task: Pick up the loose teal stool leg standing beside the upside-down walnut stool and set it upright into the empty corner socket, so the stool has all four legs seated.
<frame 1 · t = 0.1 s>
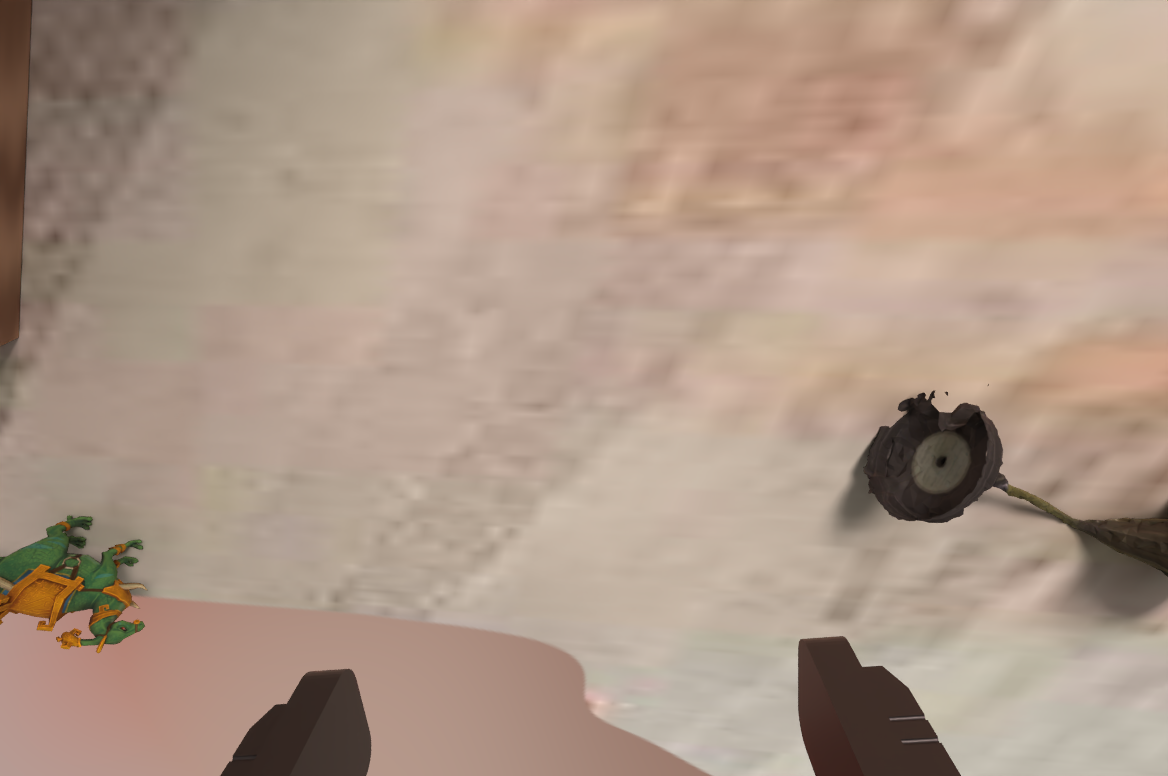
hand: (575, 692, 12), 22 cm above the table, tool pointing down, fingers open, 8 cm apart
figurine: (87, 528, 39), on the table
artificial flower: (1062, 475, 37), on the table
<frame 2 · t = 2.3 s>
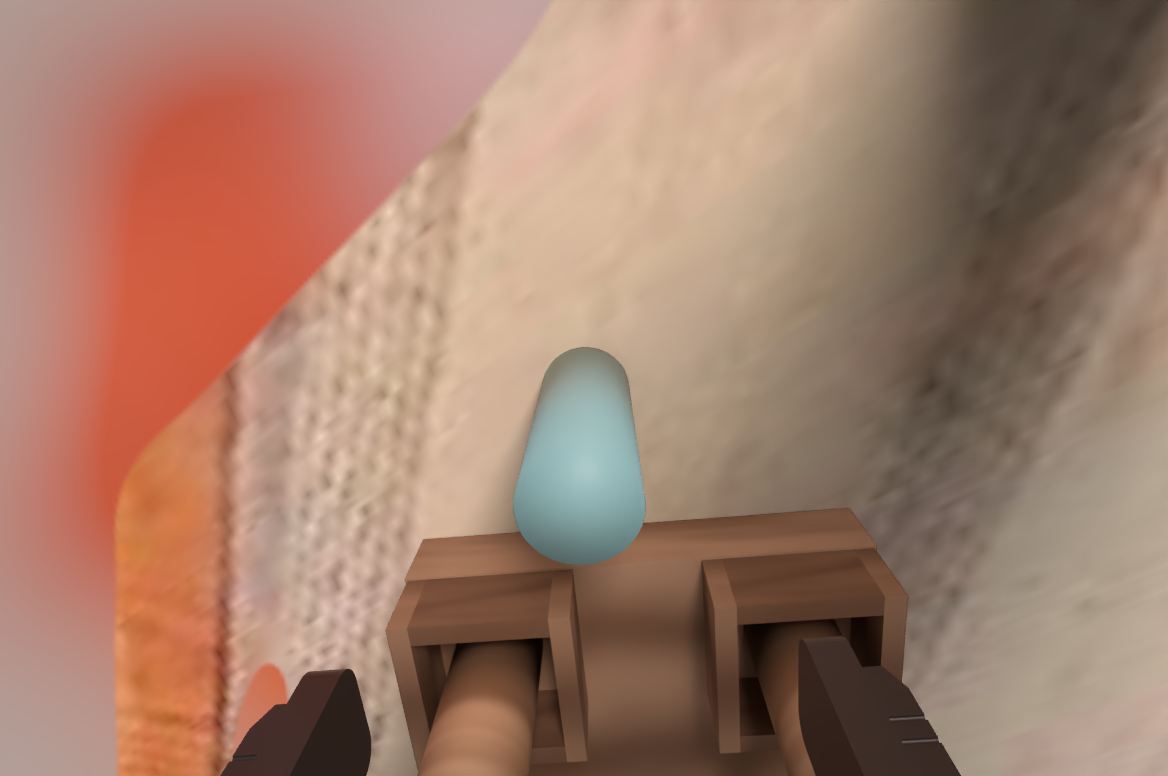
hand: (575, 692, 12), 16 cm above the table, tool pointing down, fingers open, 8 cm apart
loose leg: (585, 389, 27), on the table
stool seat: (646, 693, 32), on the table
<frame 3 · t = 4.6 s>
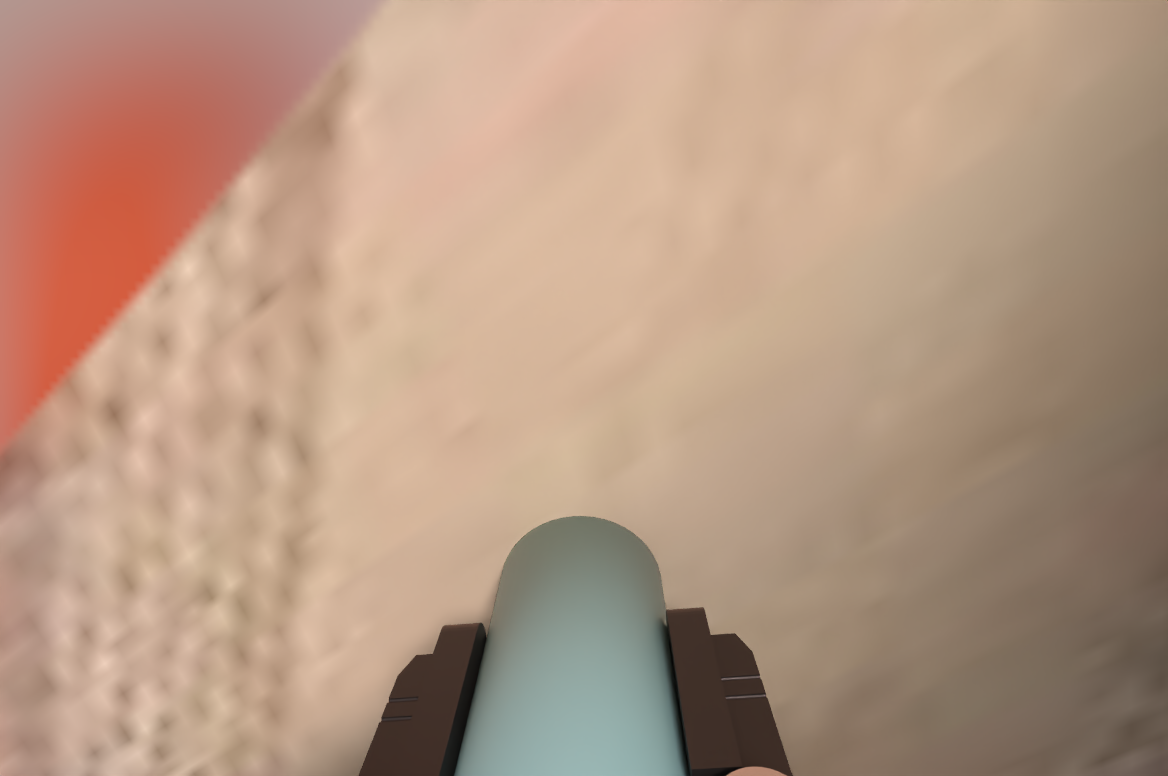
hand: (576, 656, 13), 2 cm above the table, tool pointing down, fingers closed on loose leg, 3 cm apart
loose leg: (581, 587, 15), on the table, touching gripper
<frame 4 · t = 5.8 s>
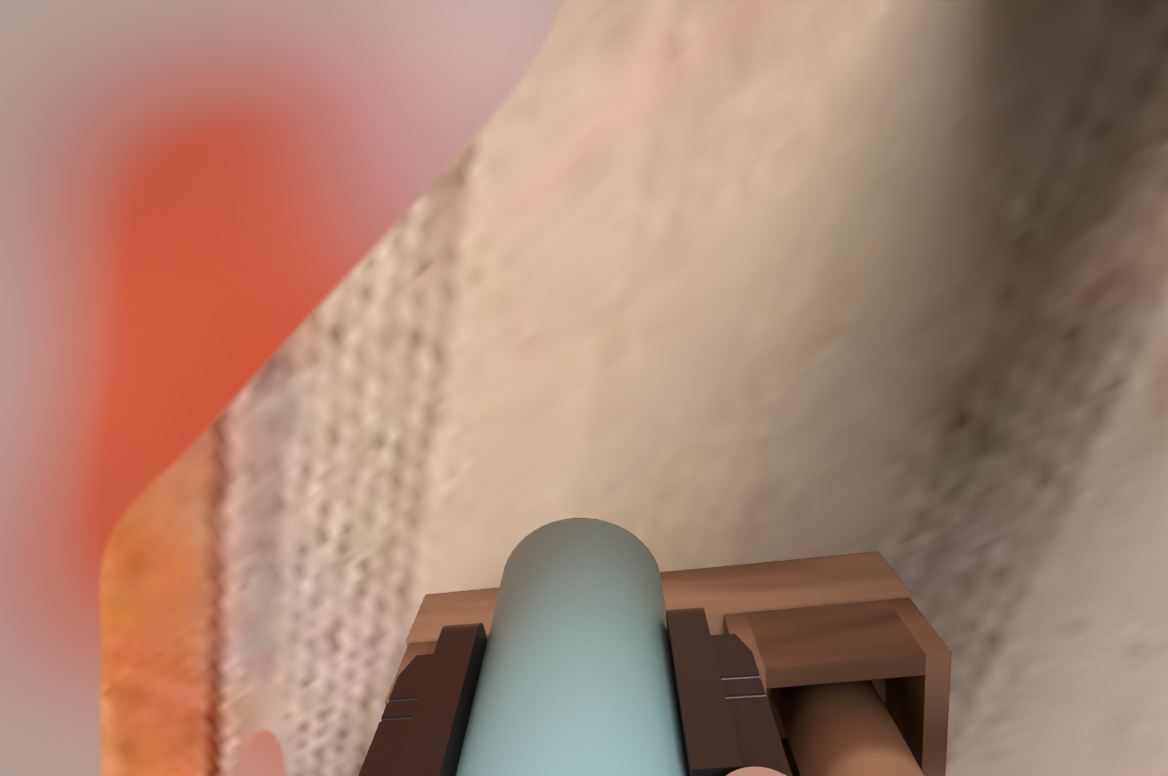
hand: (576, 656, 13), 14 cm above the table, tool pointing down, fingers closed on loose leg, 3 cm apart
loose leg: (581, 588, 15), point 11 cm above the table, touching gripper
stool seat: (666, 753, 30), on the table
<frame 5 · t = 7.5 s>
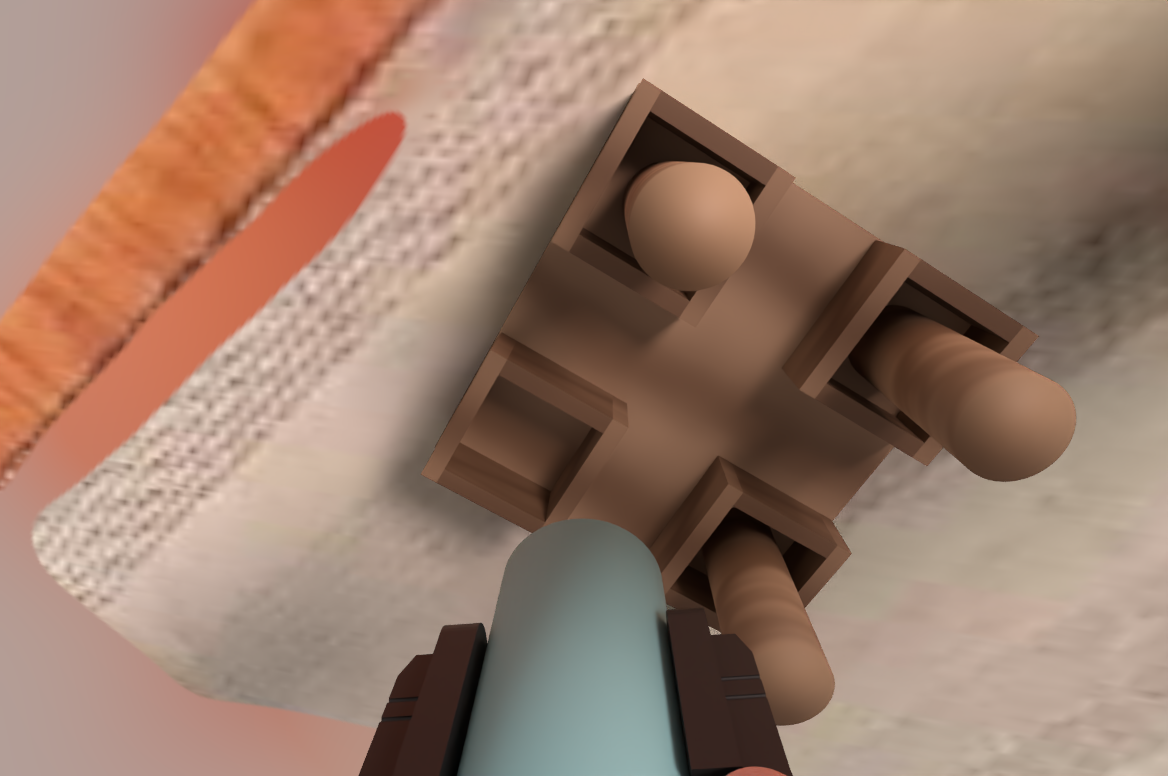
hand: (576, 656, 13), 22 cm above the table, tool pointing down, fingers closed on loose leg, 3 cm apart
loose leg: (582, 589, 15), point 20 cm above the table, touching gripper
stool seat: (695, 366, 34), on the table
when the fingers open (7 cm above the table, at t = 10.5 s): loose leg drops 1 cm, resting on stool seat.
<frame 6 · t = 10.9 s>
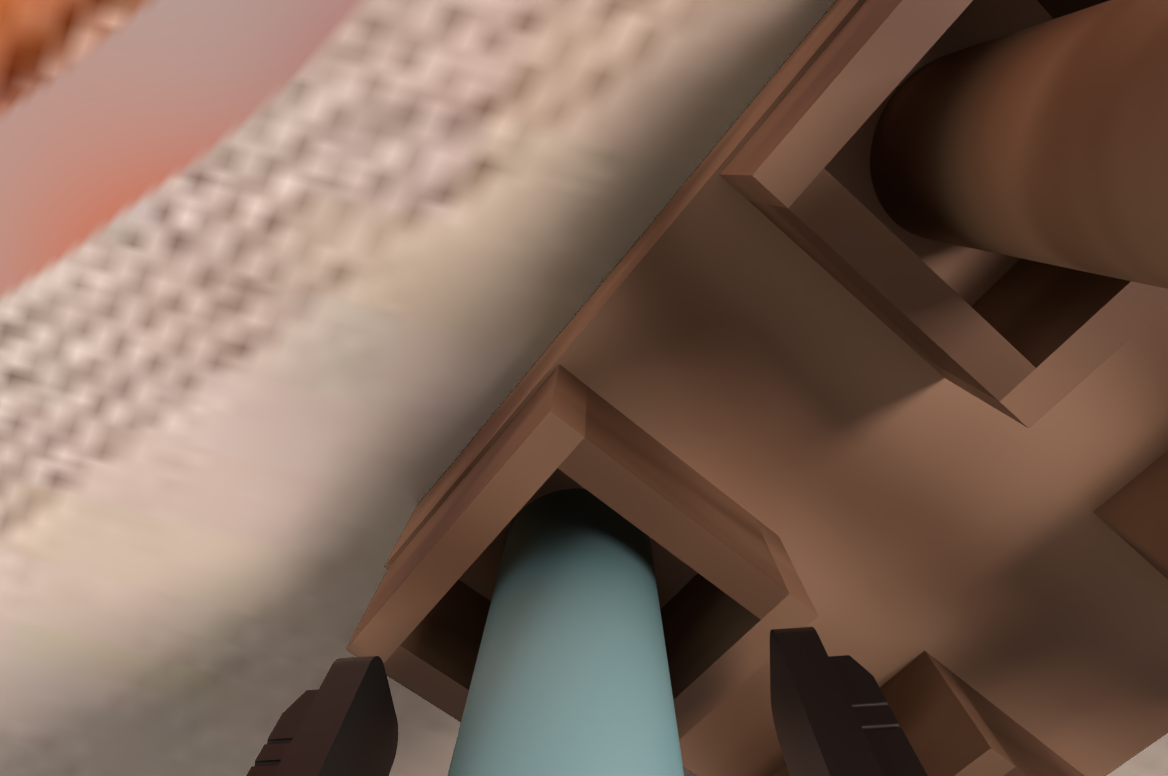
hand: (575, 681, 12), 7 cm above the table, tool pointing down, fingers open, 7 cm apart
loose leg: (578, 554, 16), point 3 cm above the table, touching stool seat
stool seat: (882, 470, 19), on the table
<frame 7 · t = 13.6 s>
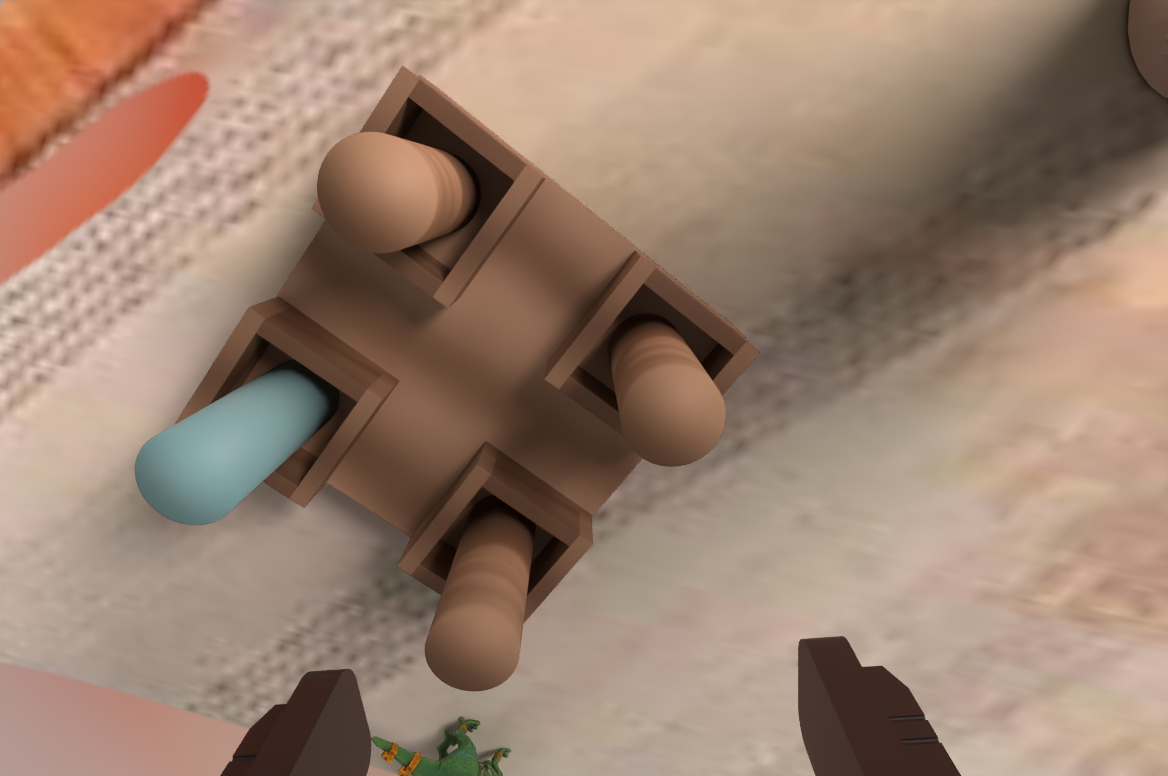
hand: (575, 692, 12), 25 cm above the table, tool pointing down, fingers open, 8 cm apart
figurine: (465, 729, 43), on the table
loose leg: (302, 394, 33), point 3 cm above the table, touching stool seat
stool seat: (482, 356, 35), on the table
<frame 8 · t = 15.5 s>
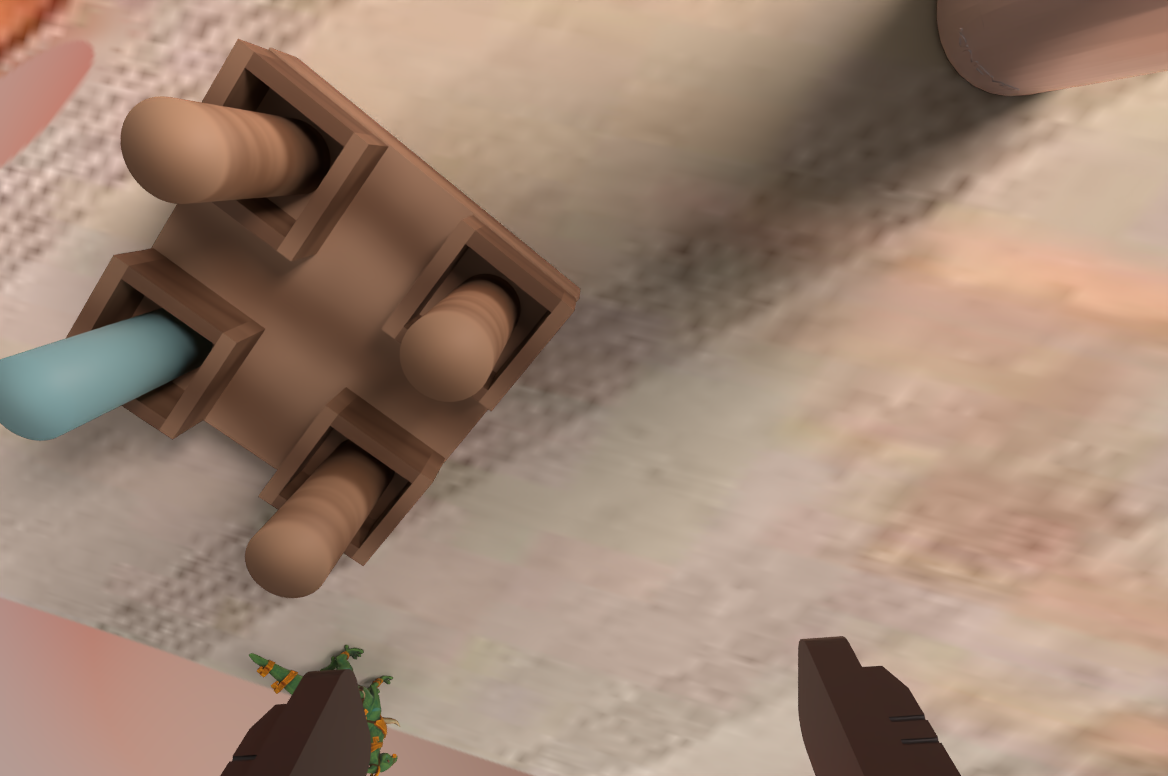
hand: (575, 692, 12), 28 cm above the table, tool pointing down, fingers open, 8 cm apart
figurine: (351, 656, 46), on the table
loose leg: (179, 338, 36), point 3 cm above the table, touching stool seat
stool seat: (351, 311, 38), on the table
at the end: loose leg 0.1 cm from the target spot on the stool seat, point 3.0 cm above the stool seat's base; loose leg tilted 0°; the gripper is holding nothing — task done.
